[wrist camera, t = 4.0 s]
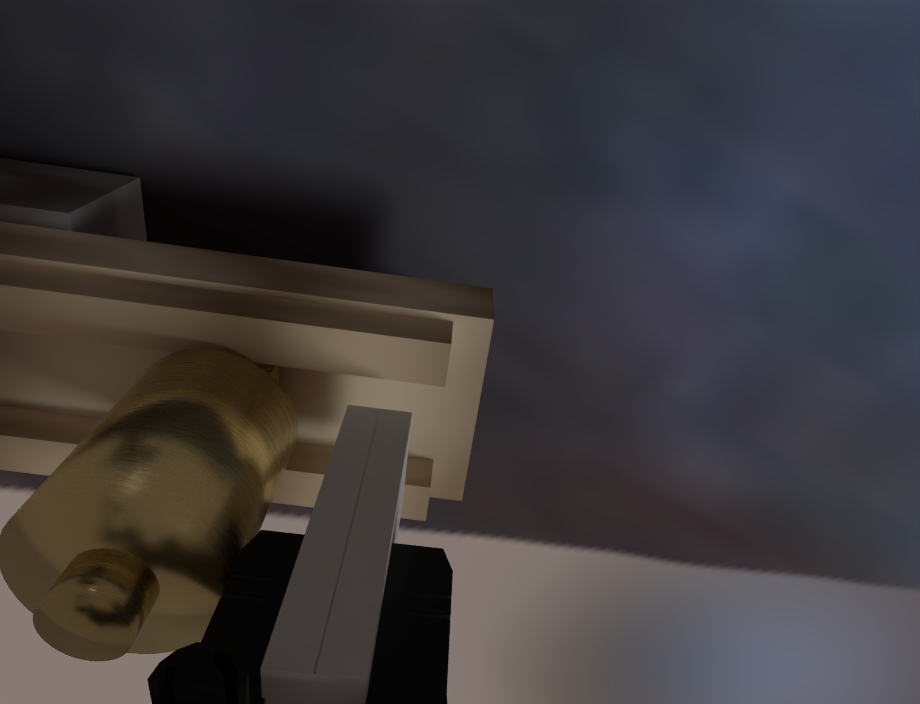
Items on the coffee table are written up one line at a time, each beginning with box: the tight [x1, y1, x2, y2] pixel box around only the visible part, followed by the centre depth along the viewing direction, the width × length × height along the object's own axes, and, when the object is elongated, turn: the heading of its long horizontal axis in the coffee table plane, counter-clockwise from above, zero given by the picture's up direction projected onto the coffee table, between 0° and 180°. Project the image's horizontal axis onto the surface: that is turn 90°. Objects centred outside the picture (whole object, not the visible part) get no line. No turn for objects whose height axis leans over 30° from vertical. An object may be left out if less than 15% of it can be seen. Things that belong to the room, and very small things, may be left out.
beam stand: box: [0, 158, 494, 521], centre depth 19 cm, size 28×7×7 cm, turn 82°
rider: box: [0, 349, 298, 661], centre depth 13 cm, size 4×4×7 cm
